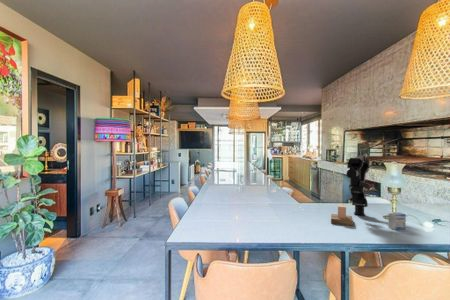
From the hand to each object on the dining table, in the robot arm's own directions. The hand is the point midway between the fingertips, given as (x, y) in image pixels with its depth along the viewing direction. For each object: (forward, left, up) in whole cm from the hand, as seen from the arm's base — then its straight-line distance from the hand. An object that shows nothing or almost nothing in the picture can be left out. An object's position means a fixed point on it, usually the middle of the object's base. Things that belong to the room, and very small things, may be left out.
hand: (354, 200), depth 158 cm
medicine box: (+10, +21, -12) cm, 26 cm away
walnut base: (+11, -8, -12) cm, 18 cm away
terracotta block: (+11, -8, -9) cm, 16 cm away
